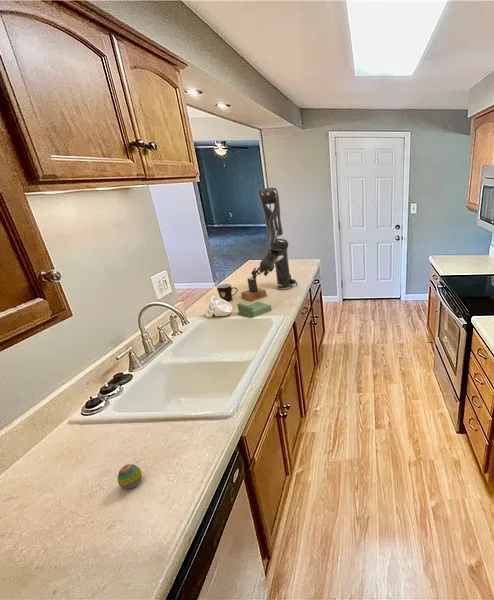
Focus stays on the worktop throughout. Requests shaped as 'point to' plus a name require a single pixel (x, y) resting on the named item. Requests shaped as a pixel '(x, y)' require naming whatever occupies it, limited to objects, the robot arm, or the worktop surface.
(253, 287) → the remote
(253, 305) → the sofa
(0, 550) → the worktop surface
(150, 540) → the worktop surface
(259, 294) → the brown wooden block
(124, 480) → the egg
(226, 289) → the coffee mug
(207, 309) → the skull bowl
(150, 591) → the worktop surface
